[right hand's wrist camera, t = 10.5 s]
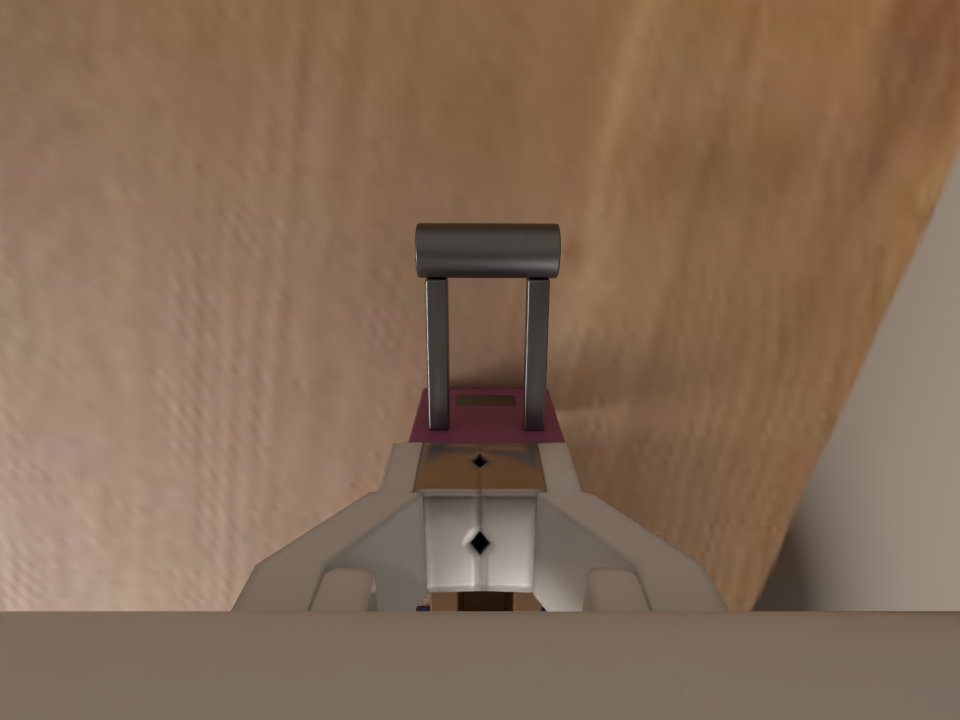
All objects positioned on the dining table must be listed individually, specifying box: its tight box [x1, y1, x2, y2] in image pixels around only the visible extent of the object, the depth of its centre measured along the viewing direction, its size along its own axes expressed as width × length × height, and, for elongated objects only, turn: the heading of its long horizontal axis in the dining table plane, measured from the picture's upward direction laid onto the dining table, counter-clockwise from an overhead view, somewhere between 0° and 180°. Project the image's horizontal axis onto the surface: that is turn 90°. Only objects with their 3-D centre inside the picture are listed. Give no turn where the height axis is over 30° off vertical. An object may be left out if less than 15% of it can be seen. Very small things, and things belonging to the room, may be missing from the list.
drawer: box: [408, 223, 565, 611], centre depth 20 cm, size 24×4×6 cm, turn 0°
